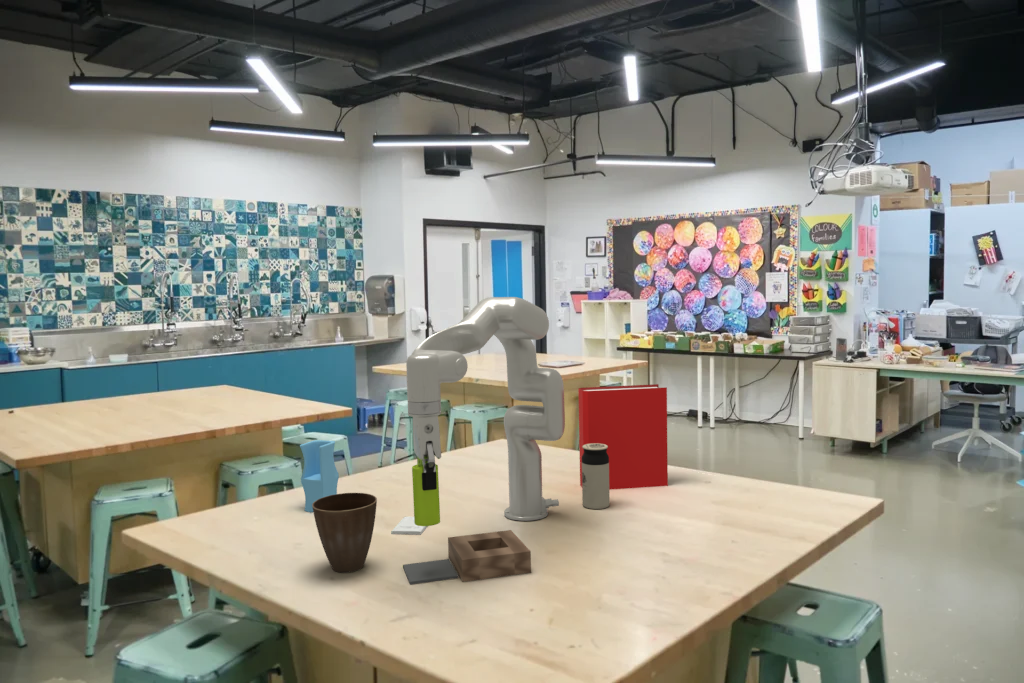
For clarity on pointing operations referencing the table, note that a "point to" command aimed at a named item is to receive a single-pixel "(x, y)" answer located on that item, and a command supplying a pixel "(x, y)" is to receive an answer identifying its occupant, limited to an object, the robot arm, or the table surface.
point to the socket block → (488, 555)
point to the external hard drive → (408, 527)
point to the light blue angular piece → (318, 471)
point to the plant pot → (345, 528)
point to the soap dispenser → (425, 498)
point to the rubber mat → (429, 571)
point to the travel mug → (595, 476)
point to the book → (627, 432)
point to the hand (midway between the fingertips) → (426, 485)
